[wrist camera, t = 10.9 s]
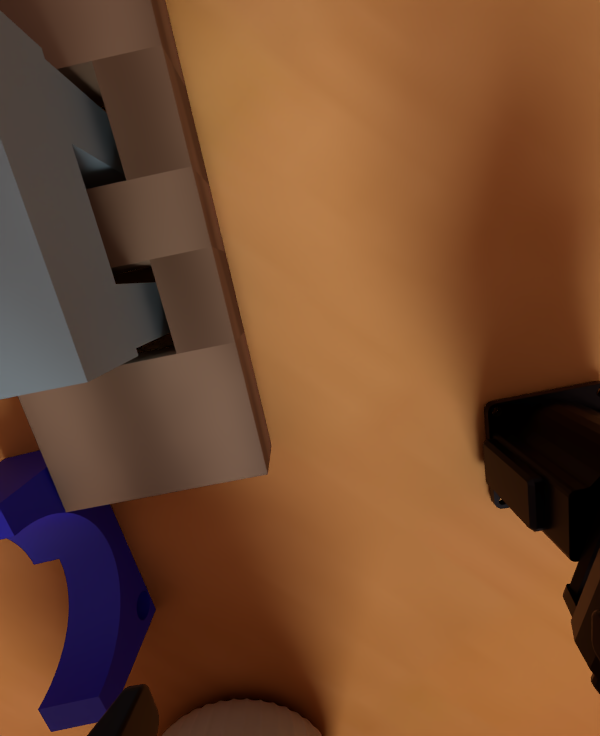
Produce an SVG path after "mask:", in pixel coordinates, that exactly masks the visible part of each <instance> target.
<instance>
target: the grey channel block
mask: <svg viewBox="0 0 600 736" xmlns="http://www.w3.org/2000/svg"><path fill="white" fill-rule="evenodd" d="M122 181H126V177H125V174H124V171H123V167H122V164H121V160H120V157H119V153H118V150H117V146H116V143H115V140H114V136H113V133H112V129H111V126H110V122H109V119H108V115H107V113H106V112H105V111H104V110H103V109H102V108H100V107H99V106H98V105H97V104H96V103H95V102H94V101H92V100H91V99H90V98H89V97H88V96H87V95H86V94H84V93H83V92H82V91H81V90H80V89H79V88H78V87H76V86H75V85H74V84H73V83H72V82H71V81H70V80H68V79H67V78H66V77H65V76H64V75H63V74H62V73H60V72H59V71H58V70H57V69H56V68H55V67H54V66H52V65H51V64H50V63H49V62H48V61H47V60H46V59H45V58H44V54H43V51H42V48H41V47H40V46H39V45H38V44H37V43H36V42H34V41H33V40H32V39H31V38H30V37H29V36H28V35H27V34H26V33H25V32H23V31H22V30H21V29H20V28H19V27H18V26H17V25H16V24H15V23H14V22H12V21H11V20H10V19H9V18H8V17H7V16H6V15H5V14H4V13H3V12H1V11H0V399H5V398H10V397H15V396H20V395H25V394H30V393H35V392H40V391H46V390H51V389H56V388H61V387H66V386H71V385H76V384H81V383H86V382H89V381H91V380H93V379H95V378H97V377H99V376H101V375H103V374H104V373H106V372H108V371H110V370H112V369H114V368H116V367H118V366H120V365H122V364H124V363H126V362H128V361H130V360H132V359H133V358H135V357H137V356H138V353H137V350H136V348H138V347H140V346H142V345H144V344H146V343H149V342H151V341H153V340H155V339H157V338H160V337H162V336H164V335H166V334H168V333H170V329H169V326H168V322H167V319H166V315H165V312H164V308H163V305H162V301H161V298H160V295H159V291H158V288H157V284H156V282H151V283H129V284H116V283H115V280H114V277H113V273H112V270H111V267H110V264H109V261H108V258H107V254H106V251H105V248H104V245H103V242H102V239H101V235H100V232H99V229H98V226H97V223H96V220H95V216H94V213H93V210H92V207H91V204H90V200H89V197H88V194H87V191H86V189H90V188H94V187H99V186H104V185H108V184H113V183H117V182H122Z"/></svg>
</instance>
